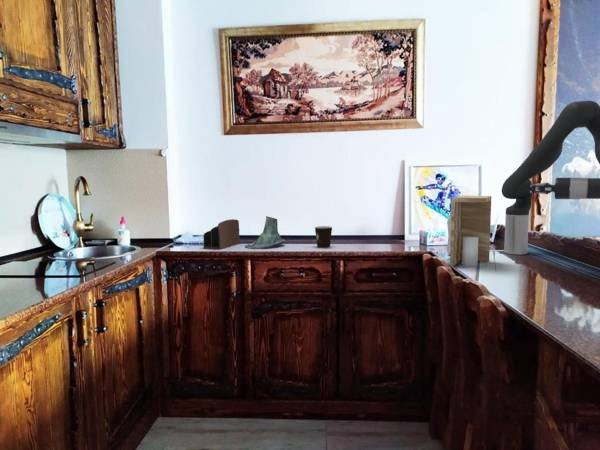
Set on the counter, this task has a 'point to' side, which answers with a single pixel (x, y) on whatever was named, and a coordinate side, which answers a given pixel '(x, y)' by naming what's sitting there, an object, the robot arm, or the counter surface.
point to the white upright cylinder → (470, 251)
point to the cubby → (470, 225)
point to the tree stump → (268, 236)
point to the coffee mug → (323, 236)
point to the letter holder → (222, 235)
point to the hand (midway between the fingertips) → (518, 188)
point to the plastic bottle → (449, 235)
